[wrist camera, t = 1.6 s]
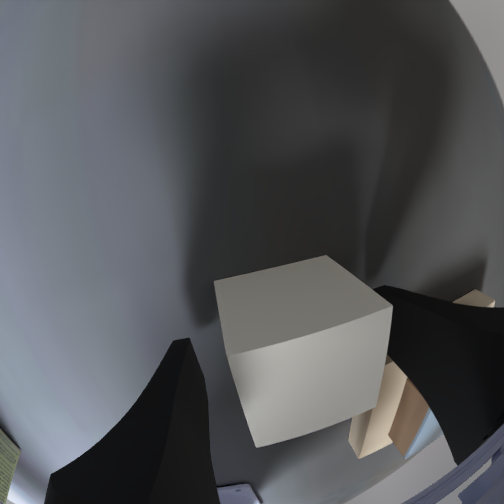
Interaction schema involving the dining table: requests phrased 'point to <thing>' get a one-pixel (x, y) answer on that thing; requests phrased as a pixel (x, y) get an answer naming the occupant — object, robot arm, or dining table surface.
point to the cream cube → (303, 346)
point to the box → (7, 464)
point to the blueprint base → (389, 397)
